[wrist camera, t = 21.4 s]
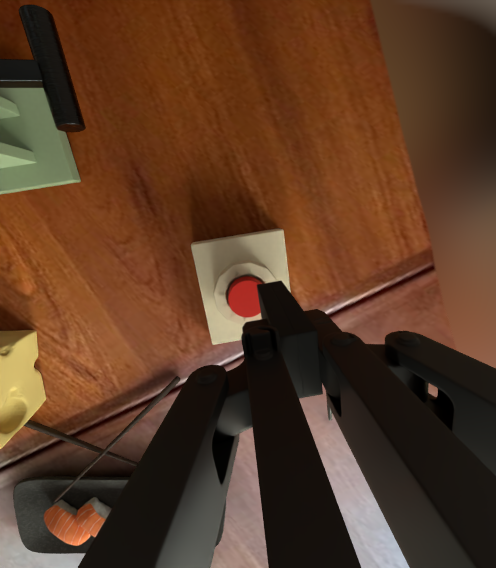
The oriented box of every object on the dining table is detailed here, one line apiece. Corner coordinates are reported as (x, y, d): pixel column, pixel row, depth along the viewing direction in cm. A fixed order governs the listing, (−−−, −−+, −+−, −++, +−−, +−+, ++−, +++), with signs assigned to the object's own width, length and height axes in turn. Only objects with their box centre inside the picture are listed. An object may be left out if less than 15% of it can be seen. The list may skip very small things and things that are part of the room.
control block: (193, 242, 30) (188, 247, 26) (279, 228, 30) (287, 230, 27) (213, 336, 34) (211, 352, 30) (290, 322, 34) (298, 337, 30)
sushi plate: (31, 539, 41) (12, 571, 37) (2, 368, 33) (-26, 388, 29) (221, 536, 43) (220, 566, 40) (237, 378, 35) (239, 398, 32)
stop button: (225, 279, 28) (224, 284, 26) (262, 273, 28) (264, 277, 26) (231, 314, 29) (231, 320, 27) (267, 308, 29) (270, 314, 27)
